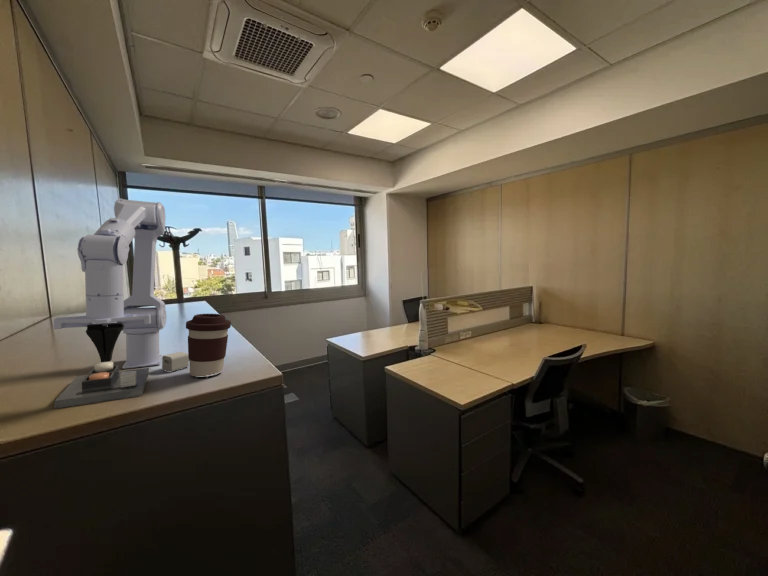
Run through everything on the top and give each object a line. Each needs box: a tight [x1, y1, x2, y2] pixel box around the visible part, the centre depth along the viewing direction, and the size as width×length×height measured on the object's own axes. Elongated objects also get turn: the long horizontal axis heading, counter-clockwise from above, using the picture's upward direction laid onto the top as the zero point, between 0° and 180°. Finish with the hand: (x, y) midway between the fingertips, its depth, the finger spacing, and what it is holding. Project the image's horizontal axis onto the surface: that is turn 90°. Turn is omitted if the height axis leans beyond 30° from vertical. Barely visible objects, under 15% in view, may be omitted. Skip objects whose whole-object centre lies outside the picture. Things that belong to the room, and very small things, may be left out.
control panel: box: [54, 365, 150, 410], centre depth 68 cm, size 15×13×3 cm
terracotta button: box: [89, 372, 109, 380], centre depth 67 cm, size 3×3×2 cm
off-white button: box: [94, 361, 114, 372], centre depth 71 cm, size 3×3×2 cm
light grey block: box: [120, 371, 137, 387], centre depth 66 cm, size 2×2×3 cm
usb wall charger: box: [161, 351, 190, 373], centre depth 83 cm, size 4×7×4 cm, turn 156°
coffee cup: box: [185, 313, 232, 377], centre depth 79 cm, size 10×10×15 cm
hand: (106, 360), depth 64 cm, fingers closed
